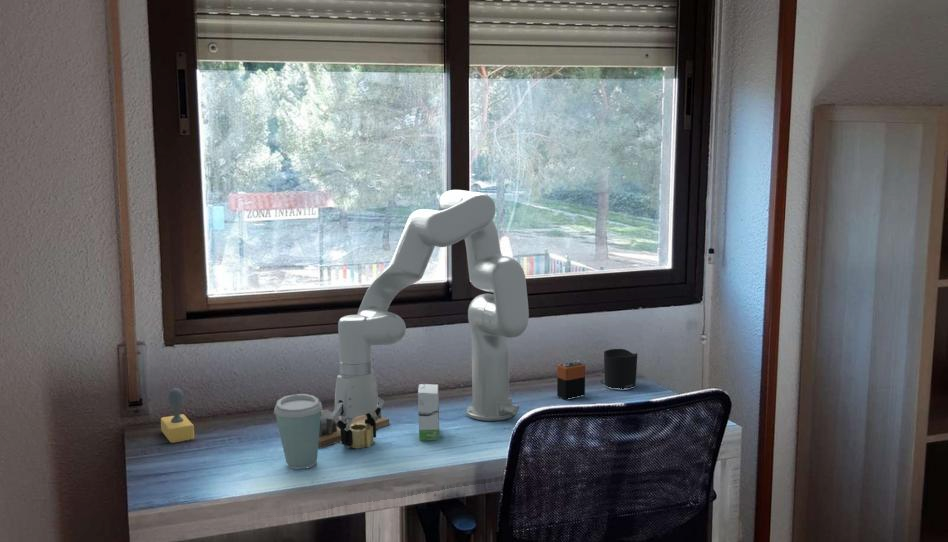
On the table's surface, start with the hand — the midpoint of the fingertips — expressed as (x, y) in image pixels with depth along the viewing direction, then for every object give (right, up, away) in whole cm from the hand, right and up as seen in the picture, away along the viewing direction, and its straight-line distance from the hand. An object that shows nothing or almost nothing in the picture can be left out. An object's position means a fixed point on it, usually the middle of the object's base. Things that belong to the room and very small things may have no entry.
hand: (358, 440), depth 223 cm
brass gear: (0, -1, 0) cm, 1 cm away
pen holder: (+69, +7, +46) cm, 83 cm away
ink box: (+16, 0, +7) cm, 18 cm away
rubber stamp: (-45, 0, +8) cm, 46 cm away
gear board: (-6, +1, +10) cm, 12 cm away
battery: (+54, +5, +37) cm, 66 cm away
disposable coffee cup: (-12, -3, -13) cm, 17 cm away
